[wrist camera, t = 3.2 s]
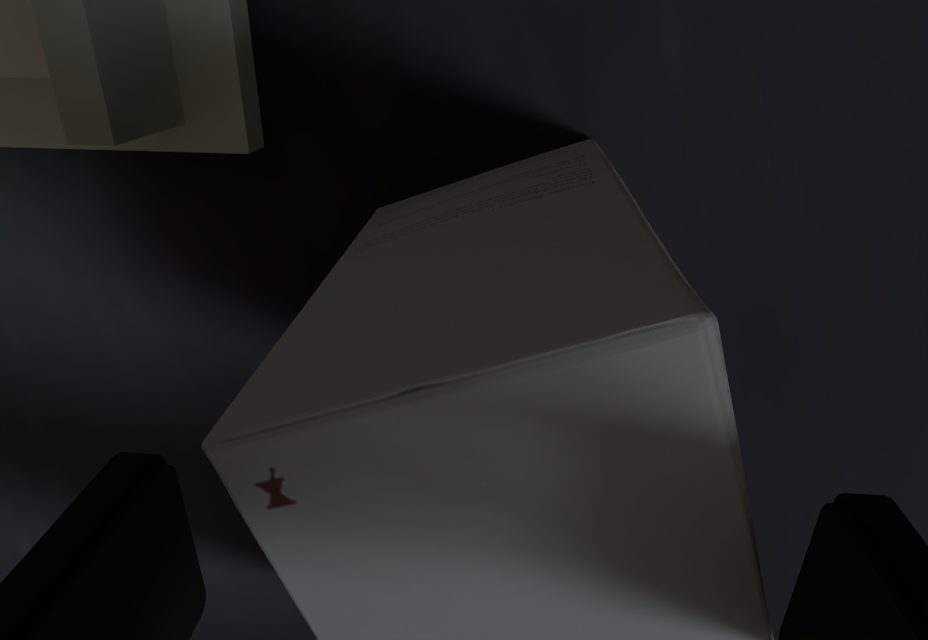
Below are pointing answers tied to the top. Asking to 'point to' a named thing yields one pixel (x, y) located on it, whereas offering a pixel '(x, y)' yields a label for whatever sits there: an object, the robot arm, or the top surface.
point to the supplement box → (501, 427)
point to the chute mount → (128, 76)
